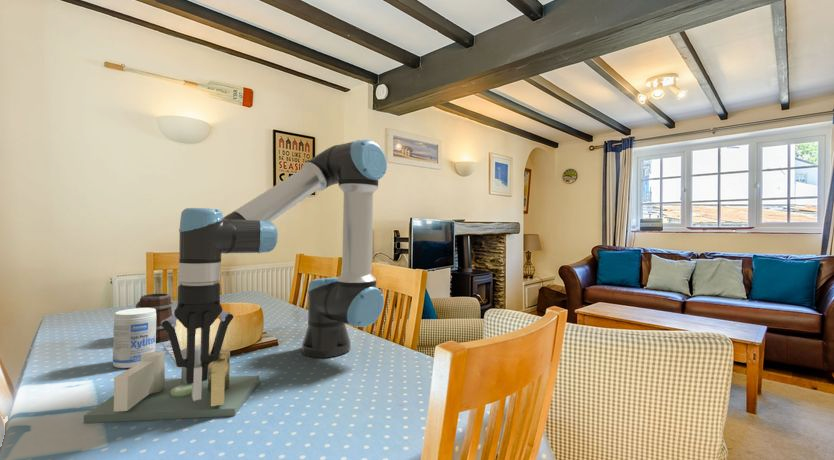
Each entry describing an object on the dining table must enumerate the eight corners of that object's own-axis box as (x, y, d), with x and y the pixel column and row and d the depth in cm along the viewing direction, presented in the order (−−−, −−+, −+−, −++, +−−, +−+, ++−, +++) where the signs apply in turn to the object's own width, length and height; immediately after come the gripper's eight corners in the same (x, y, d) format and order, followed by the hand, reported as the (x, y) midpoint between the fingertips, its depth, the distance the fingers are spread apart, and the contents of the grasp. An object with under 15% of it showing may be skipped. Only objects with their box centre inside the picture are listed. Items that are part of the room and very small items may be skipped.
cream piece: (168, 385, 85) (169, 350, 85) (132, 413, 72) (133, 373, 72) (147, 386, 84) (148, 351, 84) (108, 414, 71) (108, 373, 71)
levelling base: (261, 378, 94) (262, 340, 94) (234, 415, 75) (235, 368, 75) (143, 382, 90) (143, 342, 90) (83, 423, 71) (84, 373, 71)
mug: (183, 336, 128) (183, 293, 128) (146, 346, 117) (147, 299, 117) (154, 331, 134) (154, 290, 134) (116, 340, 123) (117, 295, 123)
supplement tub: (135, 370, 97) (136, 315, 97) (102, 368, 98) (103, 314, 98) (163, 357, 107) (164, 307, 107) (134, 356, 108) (135, 306, 108)
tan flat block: (229, 382, 87) (229, 348, 87) (229, 405, 75) (230, 367, 75) (208, 385, 85) (208, 351, 85) (205, 410, 73) (205, 370, 73)
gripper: (230, 279, 82) (227, 384, 82) (160, 282, 74) (156, 398, 74) (237, 283, 76) (234, 396, 76) (162, 287, 68) (158, 413, 68)
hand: (196, 397), depth 75 cm, fingers closed
